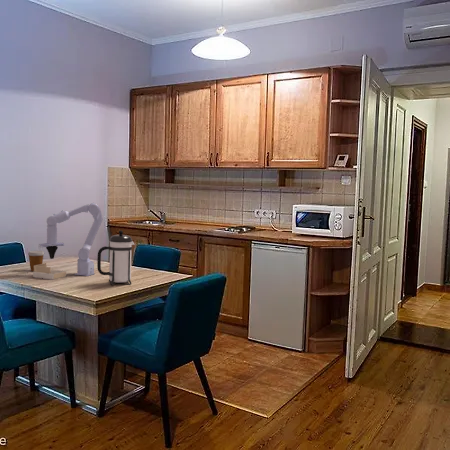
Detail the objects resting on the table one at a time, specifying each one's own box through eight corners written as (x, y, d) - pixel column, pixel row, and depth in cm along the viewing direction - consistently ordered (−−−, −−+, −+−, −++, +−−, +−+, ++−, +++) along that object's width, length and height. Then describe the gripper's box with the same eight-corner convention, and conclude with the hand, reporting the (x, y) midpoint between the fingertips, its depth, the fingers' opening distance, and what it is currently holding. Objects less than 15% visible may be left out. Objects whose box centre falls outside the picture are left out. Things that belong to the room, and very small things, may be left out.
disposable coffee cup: (38, 272, 298) (38, 253, 297) (24, 271, 300) (24, 252, 299) (47, 269, 307) (47, 251, 306) (33, 268, 309) (33, 250, 308)
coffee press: (117, 279, 286) (118, 228, 284) (138, 282, 278) (140, 230, 276) (96, 283, 271) (97, 230, 269) (117, 287, 263) (118, 232, 261)
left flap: (50, 267, 278) (50, 267, 278) (50, 273, 279) (50, 273, 279) (36, 265, 282) (35, 265, 281) (36, 271, 282) (36, 271, 282)
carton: (66, 276, 289) (66, 271, 289) (53, 279, 278) (53, 274, 278) (47, 274, 294) (47, 269, 294) (32, 277, 282) (32, 272, 282)
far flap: (46, 263, 293) (45, 263, 293) (33, 265, 283) (33, 265, 283) (46, 268, 293) (46, 268, 293) (34, 271, 283) (34, 271, 283)
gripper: (43, 237, 282) (43, 260, 284) (66, 236, 293) (66, 258, 294) (37, 236, 287) (37, 258, 289) (61, 234, 298) (60, 256, 299)
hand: (51, 258), depth 291 cm, fingers closed
